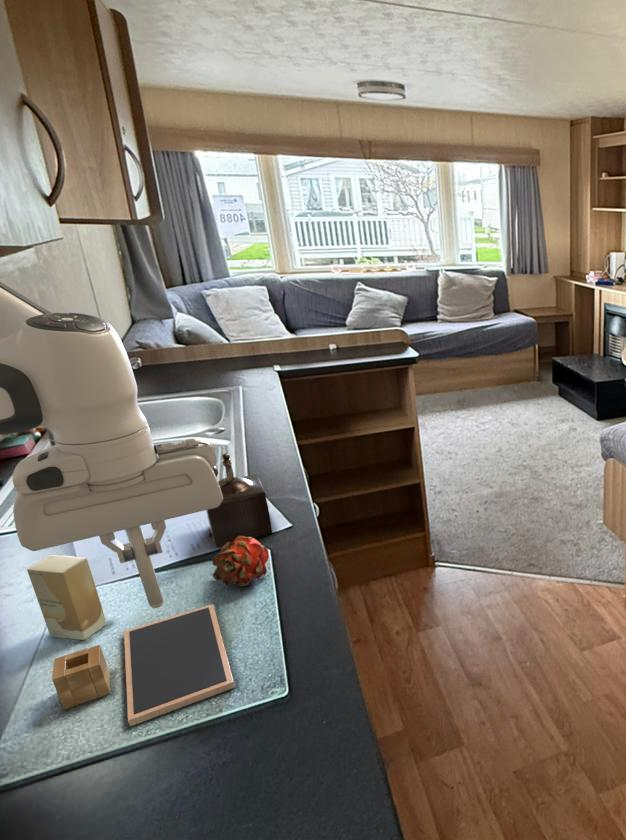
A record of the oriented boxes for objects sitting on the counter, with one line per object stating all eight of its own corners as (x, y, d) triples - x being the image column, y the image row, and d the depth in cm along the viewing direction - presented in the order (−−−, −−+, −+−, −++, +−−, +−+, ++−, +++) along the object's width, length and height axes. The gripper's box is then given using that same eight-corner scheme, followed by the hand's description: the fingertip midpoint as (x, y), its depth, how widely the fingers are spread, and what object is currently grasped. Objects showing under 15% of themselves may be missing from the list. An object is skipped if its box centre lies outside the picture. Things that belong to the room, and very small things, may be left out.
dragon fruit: (240, 608, 108) (245, 580, 119) (280, 570, 110) (281, 547, 121) (197, 577, 105) (206, 552, 115) (238, 539, 106) (243, 517, 117)
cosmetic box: (49, 637, 99) (22, 568, 94) (74, 619, 103) (49, 553, 98) (86, 641, 98) (61, 572, 94) (110, 623, 102) (87, 556, 98)
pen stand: (63, 709, 85) (51, 679, 83) (65, 687, 89) (54, 658, 87) (110, 693, 88) (99, 664, 86) (110, 673, 92) (99, 644, 90)
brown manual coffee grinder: (206, 527, 131) (184, 444, 124) (266, 513, 137) (248, 433, 130) (214, 561, 119) (190, 472, 112) (279, 544, 125) (261, 458, 118)
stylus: (150, 612, 83) (118, 510, 77) (150, 606, 84) (118, 505, 79) (165, 607, 84) (134, 507, 78) (164, 601, 85) (133, 502, 79)
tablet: (129, 726, 83) (127, 720, 82) (125, 636, 99) (123, 630, 99) (235, 687, 89) (233, 681, 89) (214, 608, 106) (212, 603, 105)
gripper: (207, 428, 84) (231, 522, 89) (0, 465, 73) (40, 571, 78) (213, 442, 79) (238, 541, 84) (-7, 485, 68) (36, 595, 73)
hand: (141, 556), depth 81 cm, fingers closed on stylus, 1 cm apart
